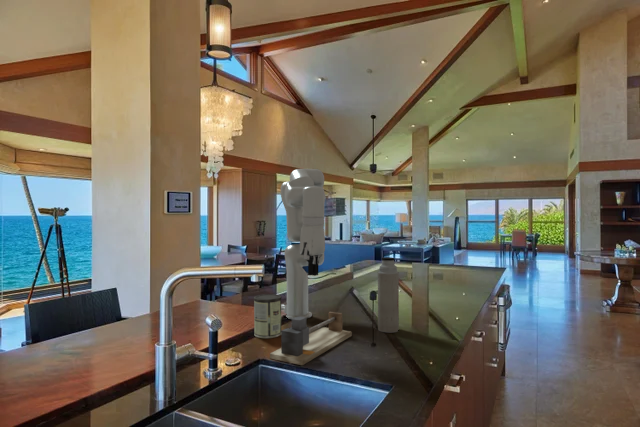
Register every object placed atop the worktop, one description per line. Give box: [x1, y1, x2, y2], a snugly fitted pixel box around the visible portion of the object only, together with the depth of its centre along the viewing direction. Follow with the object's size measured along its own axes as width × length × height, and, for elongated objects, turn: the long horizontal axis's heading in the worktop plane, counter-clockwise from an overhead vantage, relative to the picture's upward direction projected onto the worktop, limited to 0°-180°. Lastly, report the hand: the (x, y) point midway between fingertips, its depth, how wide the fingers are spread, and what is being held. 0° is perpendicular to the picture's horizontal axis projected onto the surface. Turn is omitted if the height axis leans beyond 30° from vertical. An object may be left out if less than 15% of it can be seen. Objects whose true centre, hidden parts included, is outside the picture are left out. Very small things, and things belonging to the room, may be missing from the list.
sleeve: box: [288, 316, 310, 346], centre depth 128 cm, size 5×4×8 cm
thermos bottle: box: [377, 256, 400, 334], centre depth 156 cm, size 8×8×28 cm
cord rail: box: [269, 311, 353, 366], centre depth 136 cm, size 12×34×8 cm, turn 150°
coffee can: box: [253, 293, 283, 339], centre depth 150 cm, size 10×10×14 cm
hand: (313, 274), depth 139 cm, fingers closed
